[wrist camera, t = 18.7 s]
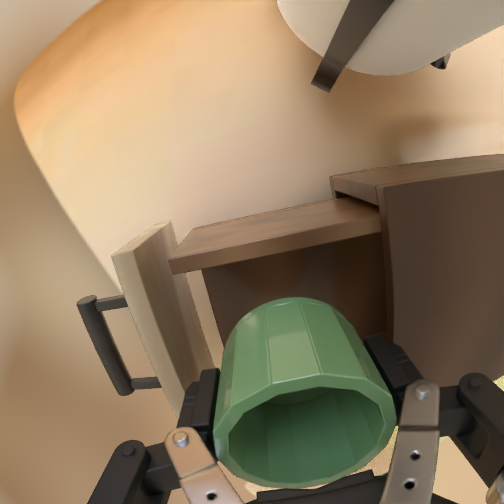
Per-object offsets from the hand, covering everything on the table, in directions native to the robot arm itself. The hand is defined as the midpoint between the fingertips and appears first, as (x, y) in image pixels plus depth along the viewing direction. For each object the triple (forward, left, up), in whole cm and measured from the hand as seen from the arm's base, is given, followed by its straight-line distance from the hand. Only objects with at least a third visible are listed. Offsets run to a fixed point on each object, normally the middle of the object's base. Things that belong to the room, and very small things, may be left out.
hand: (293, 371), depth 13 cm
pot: (0, 0, -1) cm, 1 cm away
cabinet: (0, -13, -10) cm, 17 cm away
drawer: (0, +2, -9) cm, 9 cm away
